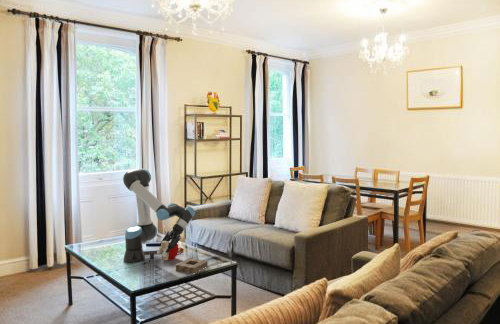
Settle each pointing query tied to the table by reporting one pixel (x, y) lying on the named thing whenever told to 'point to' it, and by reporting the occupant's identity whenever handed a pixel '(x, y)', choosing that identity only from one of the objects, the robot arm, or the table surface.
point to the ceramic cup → (174, 252)
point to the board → (191, 265)
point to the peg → (163, 246)
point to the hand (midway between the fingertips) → (160, 255)
